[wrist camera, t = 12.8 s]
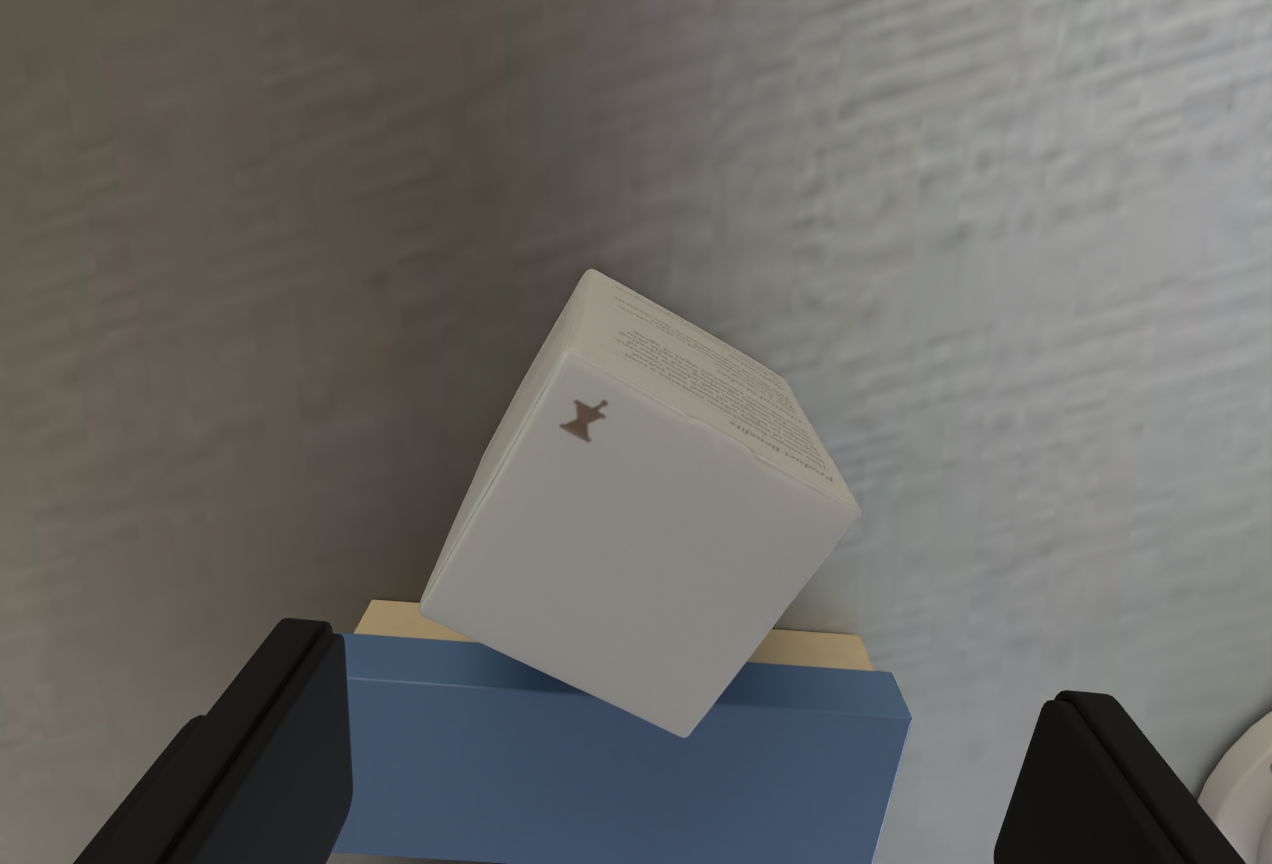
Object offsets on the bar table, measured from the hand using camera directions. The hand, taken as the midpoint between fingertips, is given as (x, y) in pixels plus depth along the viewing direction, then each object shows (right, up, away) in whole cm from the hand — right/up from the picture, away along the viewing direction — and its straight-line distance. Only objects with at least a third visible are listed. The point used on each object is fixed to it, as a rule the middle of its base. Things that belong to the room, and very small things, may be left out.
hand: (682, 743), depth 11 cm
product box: (-1, +5, +11) cm, 11 cm away
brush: (-1, -4, +14) cm, 14 cm away
